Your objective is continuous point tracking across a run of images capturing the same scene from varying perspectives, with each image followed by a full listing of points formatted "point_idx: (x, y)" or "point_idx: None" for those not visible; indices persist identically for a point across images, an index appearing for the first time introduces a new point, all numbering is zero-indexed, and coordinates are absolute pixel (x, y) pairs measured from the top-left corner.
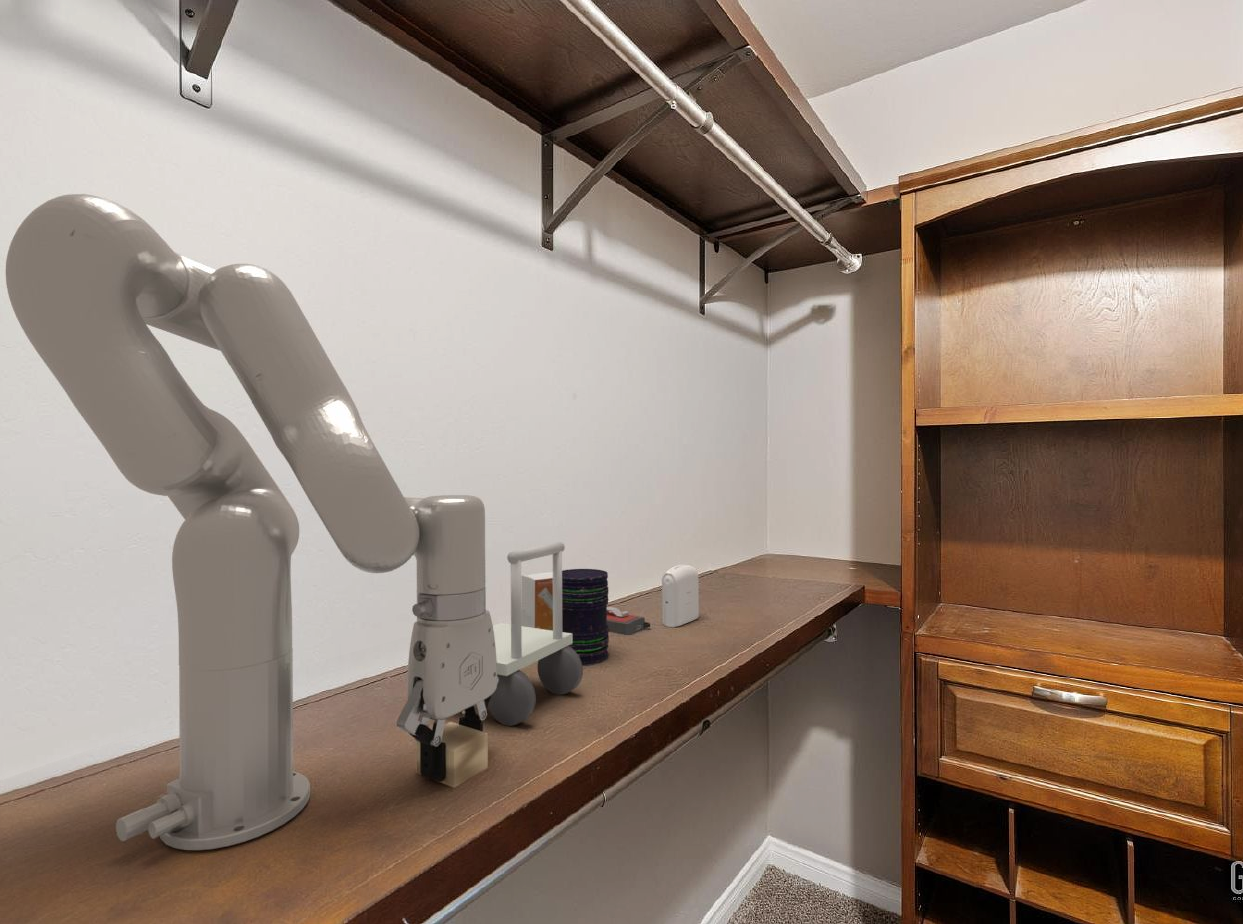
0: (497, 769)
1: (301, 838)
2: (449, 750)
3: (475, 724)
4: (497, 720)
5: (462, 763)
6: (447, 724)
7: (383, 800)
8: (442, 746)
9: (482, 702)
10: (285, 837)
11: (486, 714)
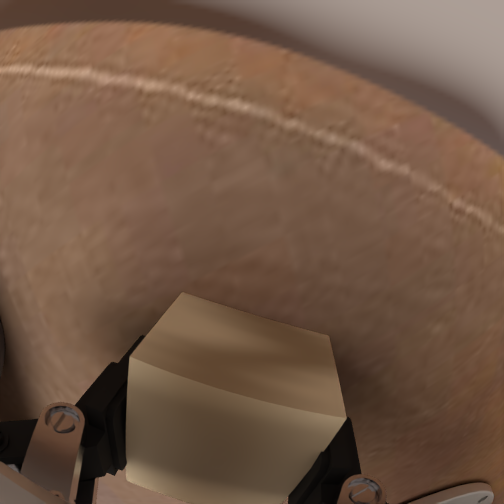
0: (181, 254)
1: (490, 450)
2: (332, 433)
3: (113, 424)
4: (3, 355)
5: (296, 362)
6: (147, 485)
7: (399, 439)
8: (349, 462)
9: (35, 461)
10: (482, 464)
11: (48, 406)
